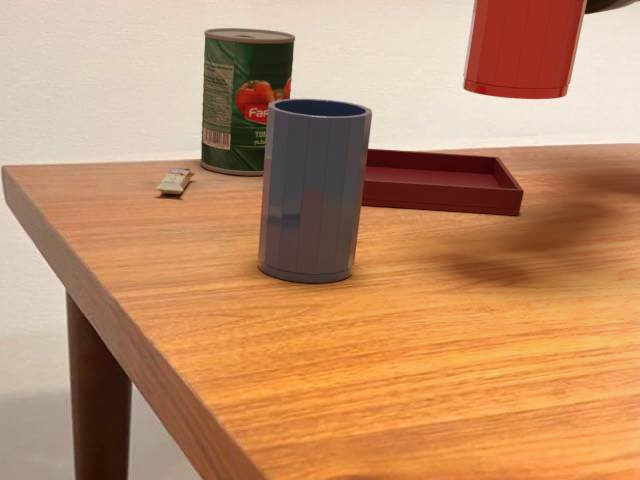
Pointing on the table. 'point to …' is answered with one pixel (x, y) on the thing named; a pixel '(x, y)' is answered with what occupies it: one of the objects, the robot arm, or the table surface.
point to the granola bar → (175, 181)
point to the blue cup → (312, 188)
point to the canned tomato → (242, 95)
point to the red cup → (523, 47)
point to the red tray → (440, 182)
